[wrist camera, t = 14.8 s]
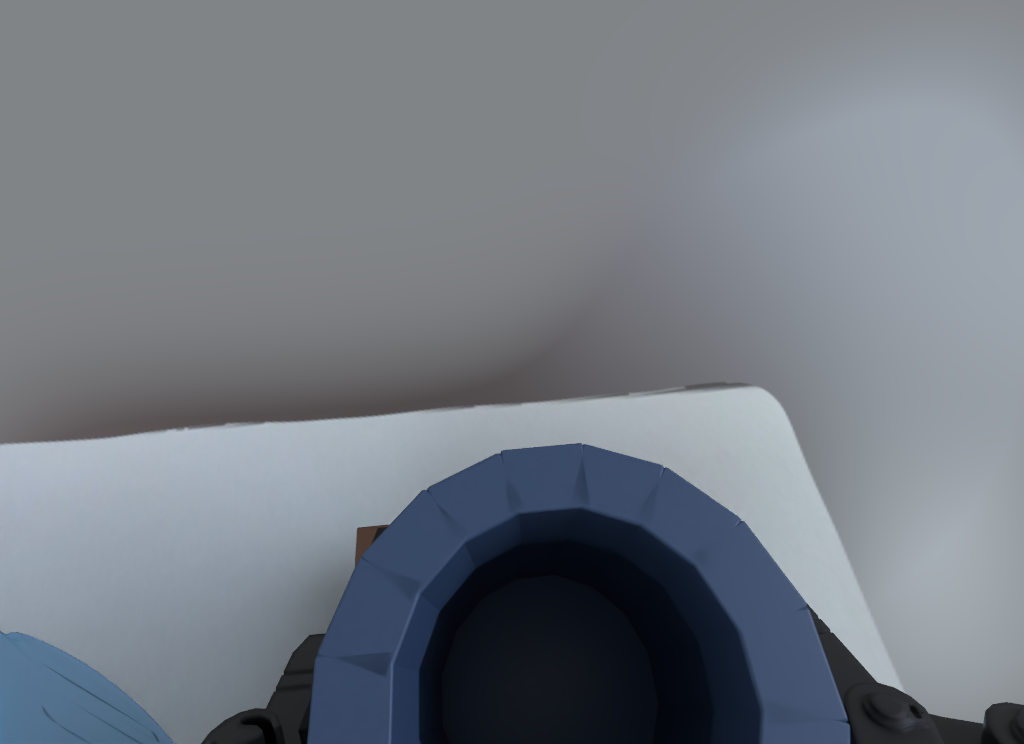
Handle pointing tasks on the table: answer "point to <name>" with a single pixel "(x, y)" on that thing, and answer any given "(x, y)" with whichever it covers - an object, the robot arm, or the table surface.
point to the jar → (571, 618)
